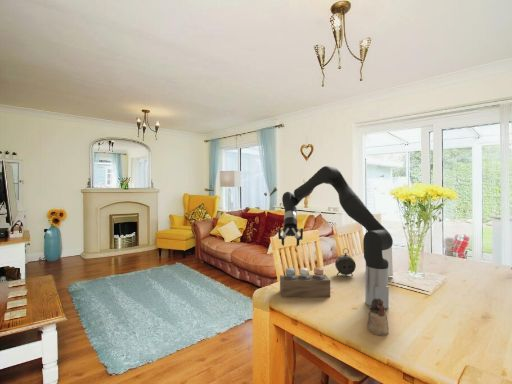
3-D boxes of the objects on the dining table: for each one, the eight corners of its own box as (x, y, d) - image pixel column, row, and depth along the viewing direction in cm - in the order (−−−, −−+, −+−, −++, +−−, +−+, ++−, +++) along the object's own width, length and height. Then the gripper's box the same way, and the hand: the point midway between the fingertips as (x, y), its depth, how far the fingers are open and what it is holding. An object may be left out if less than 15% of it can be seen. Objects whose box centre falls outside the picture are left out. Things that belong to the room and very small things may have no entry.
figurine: (382, 325, 103) (382, 294, 103) (392, 335, 96) (392, 302, 96) (364, 325, 103) (364, 294, 103) (372, 336, 96) (372, 302, 95)
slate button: (295, 275, 130) (295, 270, 130) (286, 276, 130) (286, 271, 130) (293, 272, 134) (293, 268, 134) (285, 272, 134) (285, 268, 134)
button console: (330, 296, 129) (330, 279, 129) (282, 297, 128) (282, 280, 128) (325, 290, 137) (325, 273, 137) (280, 291, 136) (280, 274, 136)
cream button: (310, 275, 130) (310, 270, 130) (301, 275, 130) (301, 270, 130) (307, 272, 134) (307, 267, 134) (299, 272, 134) (299, 267, 134)
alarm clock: (353, 274, 160) (354, 247, 159) (356, 277, 155) (356, 249, 154) (334, 274, 161) (335, 247, 160) (336, 277, 156) (336, 249, 155)
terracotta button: (324, 275, 130) (324, 270, 130) (315, 275, 130) (315, 270, 130) (321, 272, 135) (321, 267, 135) (313, 272, 135) (313, 267, 135)
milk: (388, 271, 166) (389, 229, 165) (392, 277, 155) (393, 232, 154) (367, 269, 169) (368, 228, 168) (370, 275, 158) (370, 231, 157)
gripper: (277, 216, 154) (276, 241, 143) (303, 216, 153) (304, 241, 141) (278, 224, 160) (277, 248, 149) (302, 224, 158) (303, 249, 147)
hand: (290, 245), depth 145 cm, fingers open, 7 cm apart
